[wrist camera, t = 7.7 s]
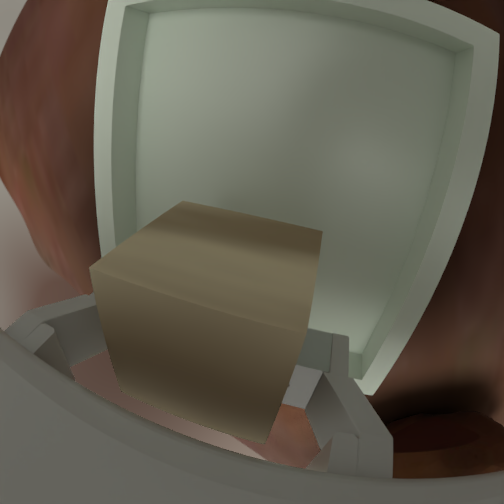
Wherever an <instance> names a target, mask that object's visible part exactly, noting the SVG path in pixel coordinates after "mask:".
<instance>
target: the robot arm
mask: <svg viewBox="0 0 504 504" xmlns="http://www.w3.org/2000/svg"><path fill="white" fill-rule="evenodd" d="M107 349H108V348H107V345H106V341H105V337H104V334H103V330H102V326H101V322H100V318H99V314H98V309H97V305H96V300H95V296H94V292H93V293H91V294H90V295H89V296H88V295H86V294H85V295H82V296H78V297H75V298H71V299H67V300H64V301H60V302H57V303H53V304H49V305H46V306H42V307H39V308H35V309H32V310H28V311H27V312H26V313H24V314H23V315H22V316H21V317H20V318H18V319H17V320H16V321H15V322H14V323H13V324H12V325H11V326H9V327H8V328H7V329H6V330H5V331H3V330H2V329H1V328H0V504H504V470H503V471H498V472H491V473H485V474H478V475H469V476H459V477H447V478H425V479H397V478H392V477H393V437H392V436H391V434H390V433H389V431H388V430H387V428H386V427H385V425H384V424H383V422H382V421H381V419H380V418H379V416H378V415H377V413H376V412H375V410H374V409H373V407H372V406H371V404H370V403H369V401H368V400H367V398H366V397H365V395H364V394H363V392H362V391H361V389H360V388H359V386H358V385H357V383H356V382H355V380H354V379H353V378H350V377H348V371H349V337H348V336H346V335H341V334H336V333H330V332H325V331H321V330H317V329H312V328H307V334H306V337H305V340H304V343H303V346H302V349H301V351H300V354H299V357H298V360H297V363H296V366H295V368H294V371H293V374H292V377H291V379H290V382H289V385H288V387H287V390H286V393H285V395H284V398H283V401H282V403H284V404H287V405H291V406H295V407H299V408H303V409H305V412H306V415H307V417H308V420H309V422H310V425H311V427H312V429H313V432H314V434H315V437H316V439H317V442H318V444H319V447H320V449H321V451H320V452H319V453H318V455H317V456H316V457H315V458H314V459H313V460H312V462H311V463H310V464H309V465H308V466H307V467H306V468H305V469H303V468H297V467H292V466H287V465H283V464H278V463H274V462H270V461H265V460H261V459H257V458H253V457H250V456H246V455H243V454H239V453H236V452H233V451H229V450H226V449H222V448H220V447H217V446H213V445H211V444H208V443H205V442H202V441H199V440H196V439H193V438H191V437H188V436H186V435H183V434H180V433H178V432H175V431H173V430H170V429H168V428H166V427H163V426H161V425H159V424H156V423H154V422H152V421H149V420H147V419H145V418H143V417H141V416H139V415H136V414H134V413H132V412H130V411H128V410H126V409H124V408H122V407H120V406H118V405H116V404H114V403H112V402H110V401H109V400H107V399H105V398H103V397H101V396H99V395H97V394H96V393H94V392H92V391H90V390H89V389H87V388H85V387H83V386H82V385H80V384H79V383H77V382H75V377H74V375H73V373H72V371H71V369H70V367H71V366H73V365H75V364H78V363H80V362H82V361H84V360H86V359H88V358H90V357H92V356H94V355H96V354H99V353H101V352H103V351H105V350H107Z"/></svg>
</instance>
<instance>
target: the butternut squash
mask: <svg viewBox="0 0 504 504" xmlns="http://www.w3.org/2000/svg"><path fill="white" fill-rule="evenodd" d="M386 428H387V430H388V431H389V433H390V434H391V436H392V437H393V477H392V478H397V479H425V478H447V477H459V476H469V475H478V474H485V473H491V472H498V471H503V470H504V427H503V426H502V425H501V424H499V423H498V422H496V421H494V420H493V419H491V418H490V417H488V416H486V415H484V414H482V413H479V412H475V411H461V412H455V413H448V414H439V415H430V414H425V413H420V414H416V415H413V416H410V417H407V418H403V419H400V420H397V421H393V422H391V423H390V424H388V425H387V426H386Z"/></svg>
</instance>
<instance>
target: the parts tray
mask: <svg viewBox="0 0 504 504" xmlns="http://www.w3.org/2000/svg"><path fill="white" fill-rule="evenodd" d="M499 38H500V34H498V33H497V32H495V31H493V30H491V29H489V28H488V27H486V26H484V25H482V24H480V23H478V22H476V21H474V20H472V19H470V18H468V17H466V16H464V15H461V14H459V13H457V12H455V11H452V10H450V9H448V8H445V7H443V6H441V5H438V4H435V3H433V2H430V1H428V0H108V4H107V9H106V14H105V19H104V25H103V31H102V38H101V45H100V52H99V61H98V70H97V81H96V94H95V112H94V178H95V197H96V211H97V222H98V232H99V241H100V249H101V257H104V256H105V255H106V254H107V253H109V252H110V251H112V250H113V249H114V248H116V247H117V246H118V245H120V244H121V243H122V242H124V241H125V240H126V239H128V238H129V237H131V236H132V235H133V234H135V233H136V232H138V231H139V230H140V229H142V228H143V227H145V226H146V225H148V224H149V223H150V222H152V221H153V220H155V219H156V218H158V217H159V216H161V215H162V214H163V213H165V212H166V211H168V210H169V209H171V208H172V207H174V206H175V205H177V204H178V203H180V202H181V201H187V202H192V203H197V204H202V205H207V206H212V207H217V208H221V209H226V210H231V211H236V212H240V213H245V214H249V215H254V216H259V217H263V218H268V219H272V220H277V221H281V222H285V223H290V224H294V225H298V226H303V227H307V228H311V229H315V230H319V231H323V233H322V241H321V248H320V255H319V262H318V269H317V275H316V282H315V288H314V294H313V300H312V306H311V312H310V317H309V323H308V328H312V329H317V330H321V331H325V332H330V333H336V334H341V335H346V336H348V337H349V371H348V377H350V378H353V379H354V380H355V382H356V383H357V385H358V386H359V388H360V389H361V391H362V392H363V394H366V395H372V396H373V394H374V393H375V392H376V390H377V389H378V387H379V386H380V384H381V383H382V381H383V380H384V378H385V377H386V375H387V374H388V372H389V371H390V369H391V368H392V366H393V365H394V363H395V361H396V360H397V358H398V357H399V355H400V353H401V352H402V350H403V348H404V347H405V345H406V343H407V342H408V340H409V338H410V337H411V335H412V333H413V331H414V330H415V328H416V326H417V324H418V322H419V320H420V319H421V317H422V315H423V313H424V311H425V309H426V307H427V305H428V303H429V301H430V299H431V297H432V295H433V293H434V291H435V289H436V287H437V285H438V283H439V281H440V279H441V276H442V274H443V272H444V270H445V267H446V265H447V263H448V261H449V258H450V256H451V253H452V251H453V249H454V246H455V244H456V241H457V239H458V236H459V233H460V231H461V228H462V225H463V222H464V220H465V217H466V214H467V211H468V208H469V205H470V202H471V199H472V196H473V193H474V189H475V186H476V183H477V179H478V175H479V172H480V168H481V164H482V160H483V156H484V152H485V148H486V143H487V139H488V134H489V129H490V124H491V118H492V112H493V106H494V99H495V92H496V83H497V74H498V61H499Z"/></svg>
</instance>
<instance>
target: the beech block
mask: <svg viewBox="0 0 504 504" xmlns="http://www.w3.org/2000/svg"><path fill="white" fill-rule="evenodd" d="M322 233H323V231H319V230H315V229H311V228H307V227H303V226H298V225H294V224H290V223H285V222H281V221H277V220H272V219H268V218H263V217H259V216H254V215H249V214H245V213H240V212H236V211H231V210H226V209H221V208H217V207H212V206H207V205H202V204H197V203H192V202H187V201H181V202H180V203H178V204H177V205H175V206H174V207H172V208H171V209H169V210H168V211H166V212H165V213H163V214H162V215H161V216H159V217H158V218H156V219H155V220H153V221H152V222H150V223H149V224H148V225H146V226H145V227H143V228H142V229H140V230H139V231H138V232H136V233H135V234H133V235H132V236H131V237H129V238H128V239H126V240H125V241H124V242H122V243H121V244H120V245H118V246H117V247H116V248H114V249H113V250H112V251H110V252H109V253H107V254H106V255H105V256H104V257H102V258H101V259H100V260H98V261H97V262H96V263H94V264H93V265H92V266H90V267H89V270H90V276H91V281H92V286H93V291H94V296H95V300H96V305H97V309H98V314H99V318H100V322H101V326H102V330H103V334H104V337H105V341H106V345H107V348H108V352H109V355H110V359H111V362H112V365H113V368H114V372H115V375H116V378H117V381H118V384H119V387H120V390H121V392H123V393H125V394H127V395H129V396H131V397H134V398H136V399H138V400H140V401H142V402H144V403H146V404H149V405H151V406H153V407H156V408H158V409H160V410H163V411H165V412H168V413H170V414H173V415H175V416H178V417H180V418H183V419H186V420H188V421H191V422H193V423H196V424H199V425H202V426H205V427H208V428H211V429H214V430H217V431H220V432H223V433H226V434H229V435H232V436H236V437H239V438H243V439H246V440H250V441H253V442H257V443H261V444H265V442H266V440H267V438H268V435H269V433H270V431H271V428H272V426H273V423H274V421H275V418H276V416H277V413H278V411H279V408H280V406H281V403H282V401H283V398H284V395H285V393H286V390H287V387H288V385H289V382H290V379H291V377H292V374H293V371H294V368H295V366H296V363H297V360H298V357H299V354H300V351H301V349H302V346H303V343H304V340H305V337H306V334H307V328H308V323H309V317H310V312H311V306H312V300H313V294H314V288H315V282H316V275H317V269H318V262H319V255H320V248H321V241H322Z"/></svg>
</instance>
